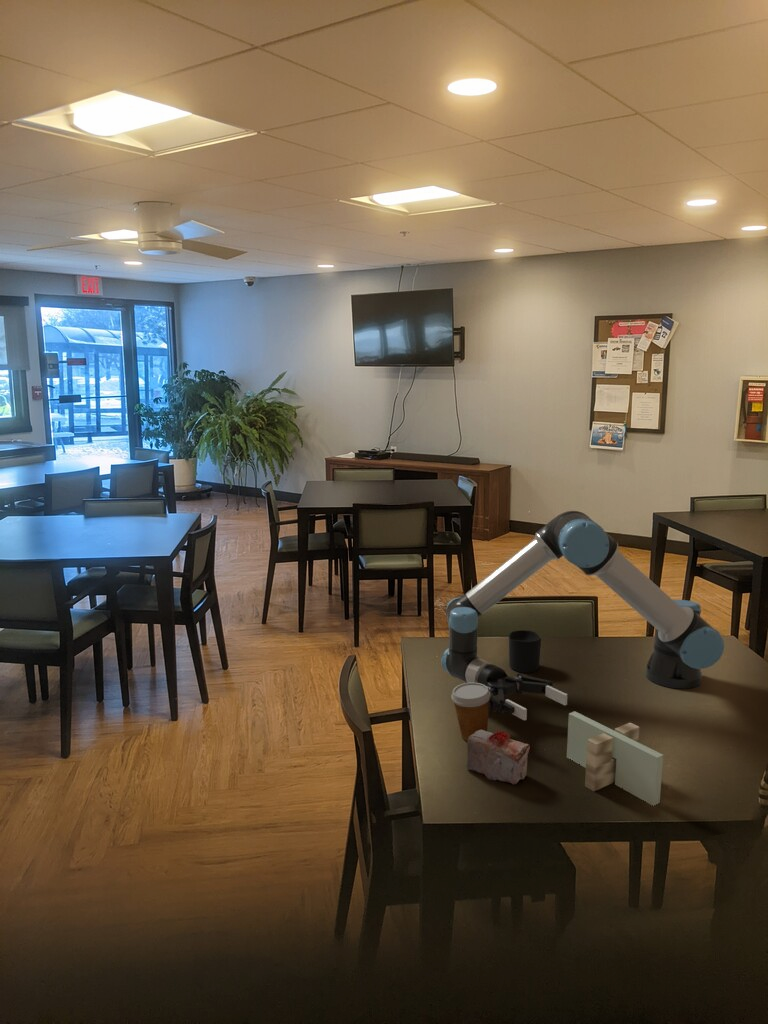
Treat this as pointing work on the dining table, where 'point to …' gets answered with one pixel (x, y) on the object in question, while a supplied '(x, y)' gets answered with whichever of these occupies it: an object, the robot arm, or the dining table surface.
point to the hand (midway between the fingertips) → (546, 707)
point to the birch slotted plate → (604, 757)
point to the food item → (497, 756)
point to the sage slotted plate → (619, 758)
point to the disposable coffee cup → (471, 707)
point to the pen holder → (524, 651)
